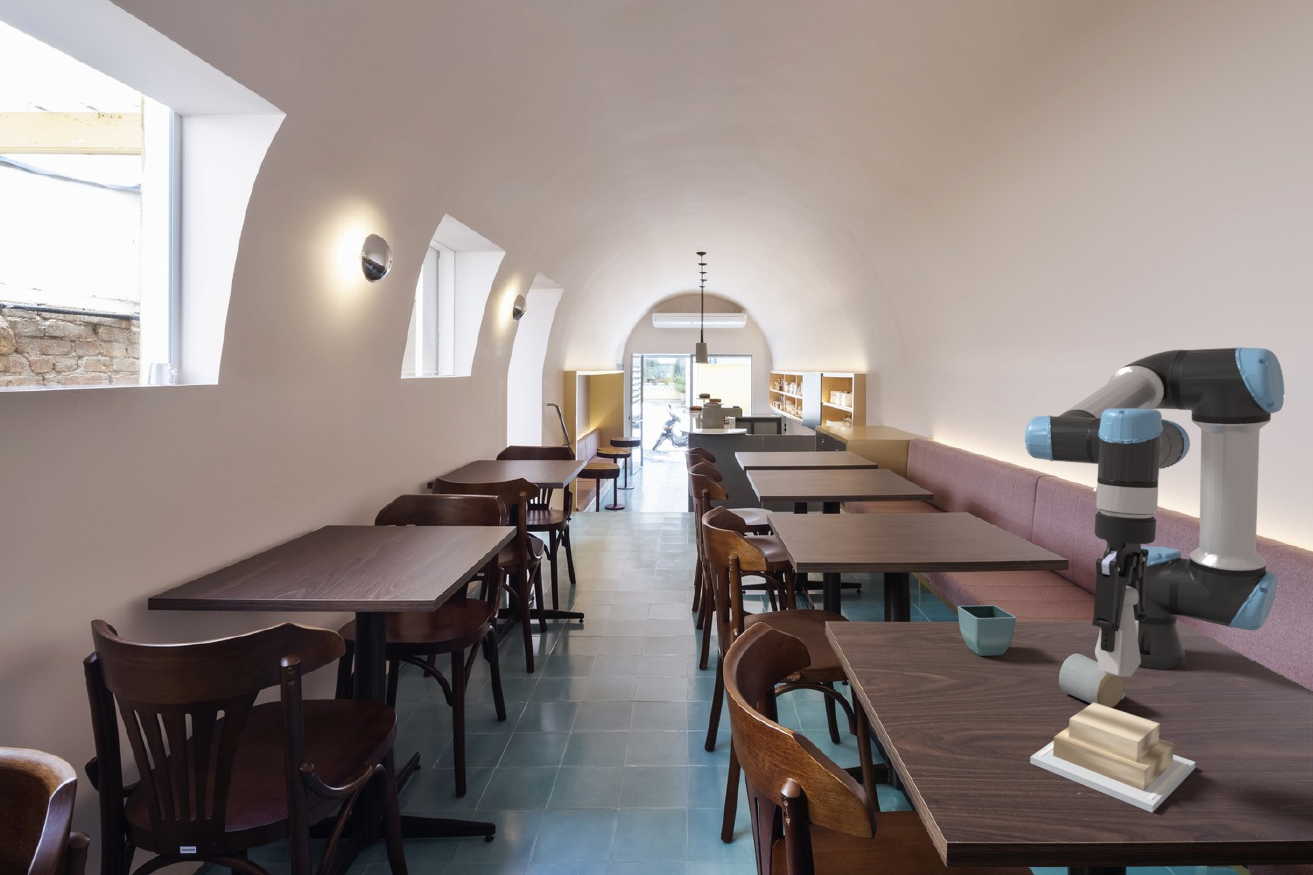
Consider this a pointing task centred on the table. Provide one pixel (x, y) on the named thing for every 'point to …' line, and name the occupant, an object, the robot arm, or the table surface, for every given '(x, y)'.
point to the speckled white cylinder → (1090, 681)
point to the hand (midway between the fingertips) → (1117, 665)
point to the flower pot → (986, 628)
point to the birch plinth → (1115, 762)
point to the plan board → (1114, 788)
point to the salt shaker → (1128, 636)
